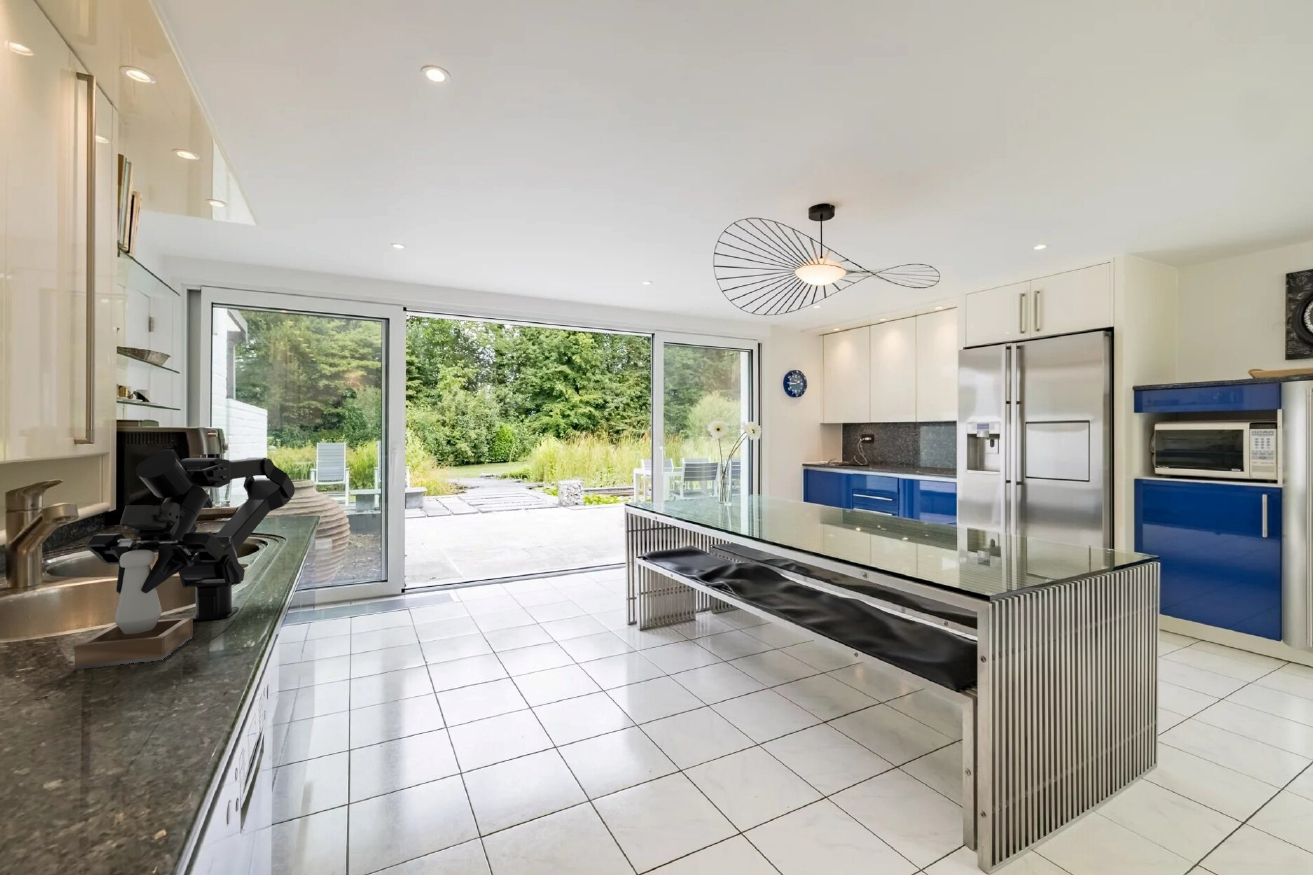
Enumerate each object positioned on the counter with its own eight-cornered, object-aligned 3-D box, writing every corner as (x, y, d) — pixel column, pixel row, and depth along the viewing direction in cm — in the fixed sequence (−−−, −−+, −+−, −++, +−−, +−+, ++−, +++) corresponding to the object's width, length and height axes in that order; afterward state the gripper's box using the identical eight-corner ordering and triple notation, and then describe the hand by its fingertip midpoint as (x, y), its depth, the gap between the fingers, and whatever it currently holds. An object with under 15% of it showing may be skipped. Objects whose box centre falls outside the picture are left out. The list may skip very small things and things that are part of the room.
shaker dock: (115, 644, 100) (115, 623, 100) (192, 637, 103) (192, 617, 103) (74, 669, 90) (74, 645, 90) (162, 660, 93) (161, 637, 93)
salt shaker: (168, 627, 98) (167, 549, 98) (125, 638, 93) (123, 556, 92) (151, 621, 101) (150, 546, 100) (108, 632, 95) (106, 552, 95)
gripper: (93, 486, 99) (33, 567, 88) (212, 485, 101) (167, 564, 90) (131, 525, 107) (80, 603, 96) (240, 523, 109) (202, 599, 98)
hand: (131, 592), depth 95 cm, fingers closed on salt shaker, 3 cm apart
